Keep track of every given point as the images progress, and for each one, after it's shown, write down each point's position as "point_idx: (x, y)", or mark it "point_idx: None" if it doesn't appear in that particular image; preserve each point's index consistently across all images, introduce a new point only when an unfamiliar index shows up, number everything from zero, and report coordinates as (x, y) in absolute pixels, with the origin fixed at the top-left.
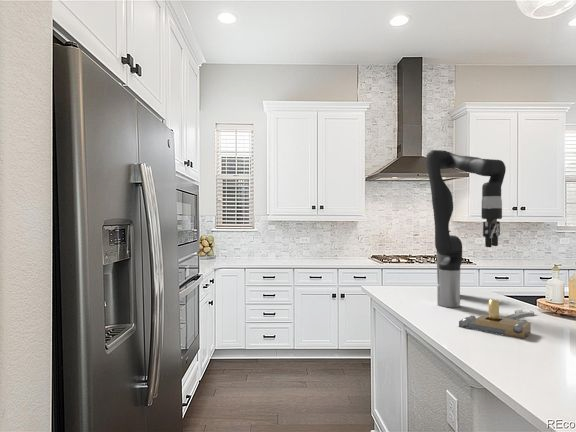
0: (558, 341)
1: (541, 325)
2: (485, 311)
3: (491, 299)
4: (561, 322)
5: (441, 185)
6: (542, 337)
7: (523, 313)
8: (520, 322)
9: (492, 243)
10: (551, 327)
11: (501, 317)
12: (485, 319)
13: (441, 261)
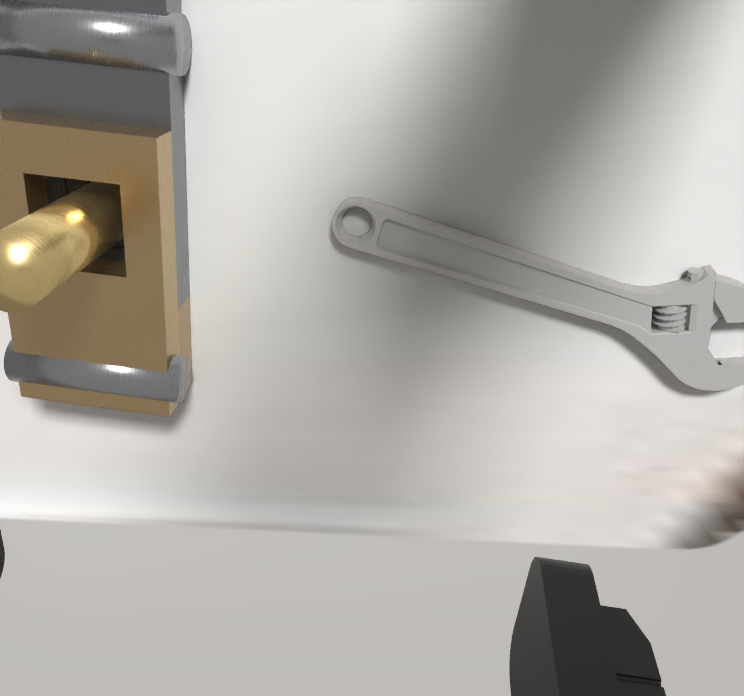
0: (140, 485)
1: (417, 423)
2: (656, 49)
3: (23, 255)
4: (566, 506)
5: None
6: (155, 430)
7: (633, 333)
8: (89, 377)
9: (539, 614)
10: (402, 464)
11: (161, 264)
12: (20, 181)
13: None
